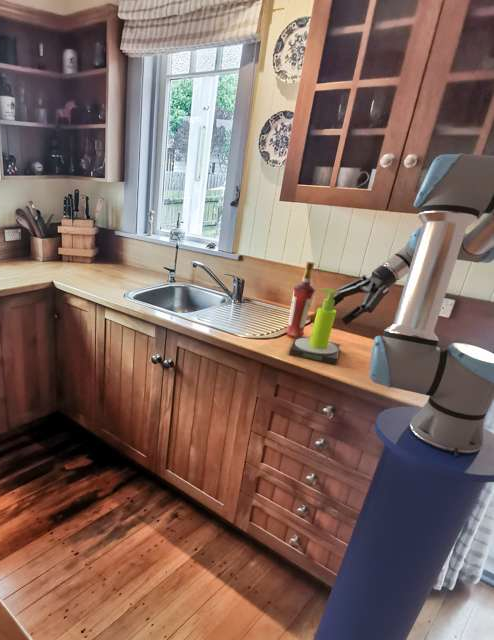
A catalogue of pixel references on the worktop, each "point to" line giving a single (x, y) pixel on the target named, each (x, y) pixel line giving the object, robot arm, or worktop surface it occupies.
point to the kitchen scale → (314, 351)
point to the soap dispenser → (323, 322)
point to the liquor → (301, 304)
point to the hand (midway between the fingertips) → (333, 315)
